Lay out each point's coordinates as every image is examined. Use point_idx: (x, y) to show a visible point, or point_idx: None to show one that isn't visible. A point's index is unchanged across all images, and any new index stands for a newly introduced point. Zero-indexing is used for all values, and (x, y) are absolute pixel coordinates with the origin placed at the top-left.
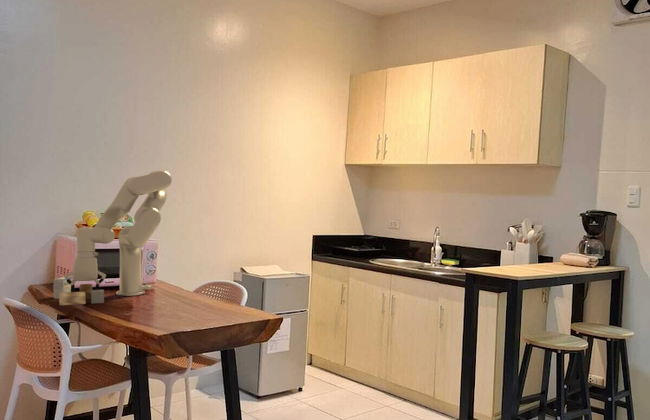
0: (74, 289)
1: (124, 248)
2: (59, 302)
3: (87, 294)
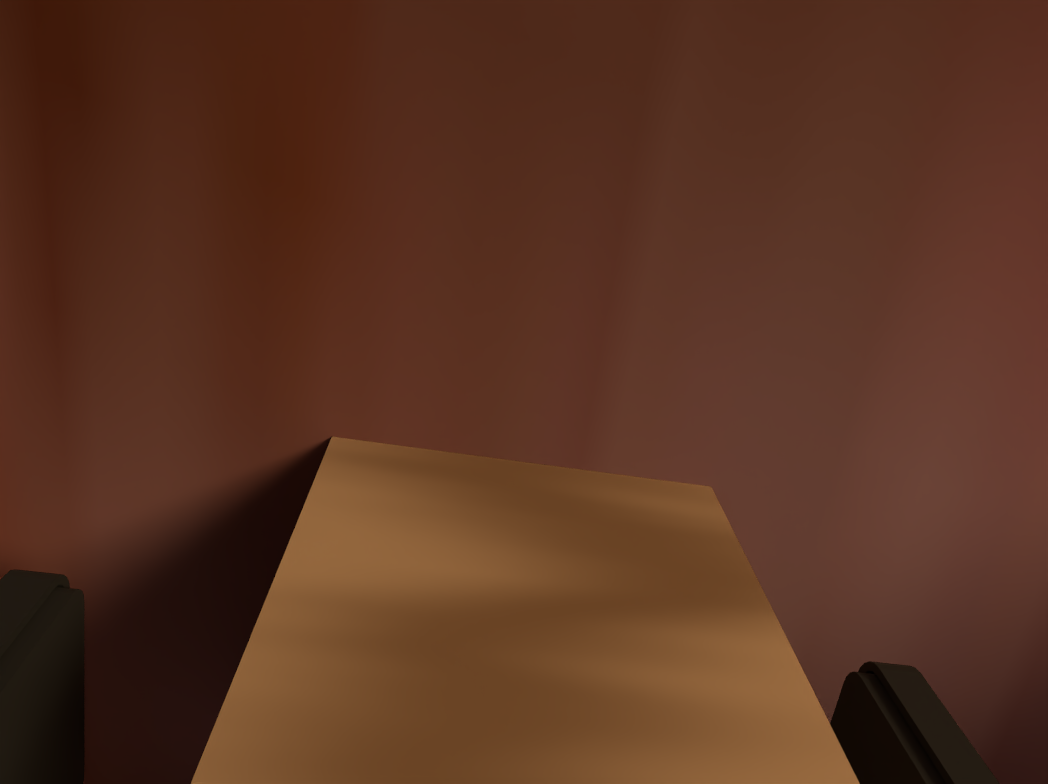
0: (7, 739)
1: None
2: None
3: None
